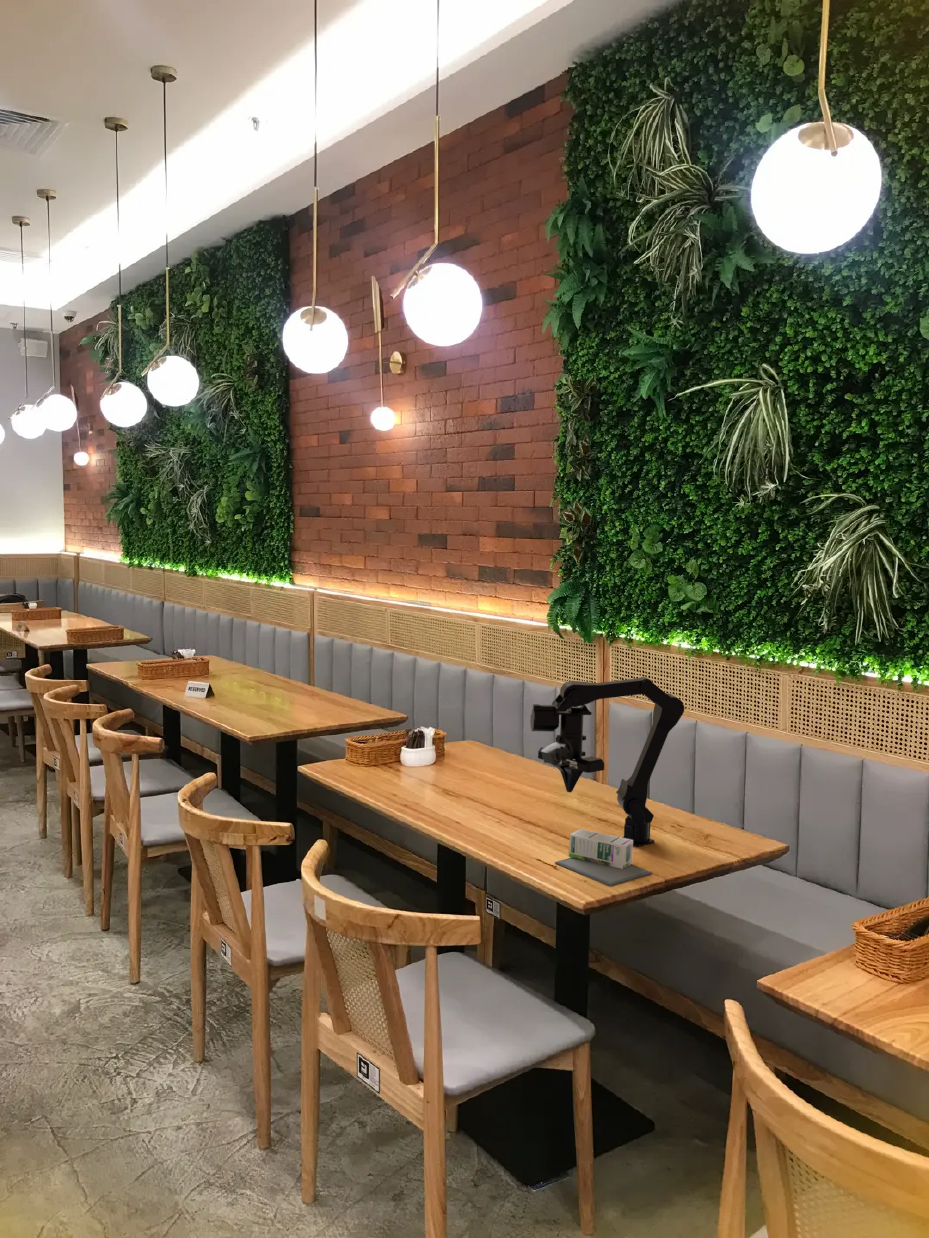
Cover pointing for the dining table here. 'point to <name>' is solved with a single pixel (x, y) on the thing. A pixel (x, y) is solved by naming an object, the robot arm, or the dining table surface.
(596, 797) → the dining table surface
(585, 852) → the syrup box
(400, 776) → the dining table surface
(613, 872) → the mat
